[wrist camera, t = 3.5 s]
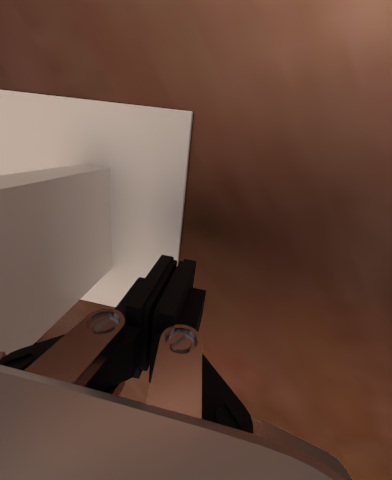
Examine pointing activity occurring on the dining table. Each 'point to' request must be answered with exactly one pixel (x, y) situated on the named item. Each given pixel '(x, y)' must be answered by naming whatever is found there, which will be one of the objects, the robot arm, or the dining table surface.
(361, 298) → the dining table surface
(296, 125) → the dining table surface
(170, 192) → the mat
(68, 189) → the tile
